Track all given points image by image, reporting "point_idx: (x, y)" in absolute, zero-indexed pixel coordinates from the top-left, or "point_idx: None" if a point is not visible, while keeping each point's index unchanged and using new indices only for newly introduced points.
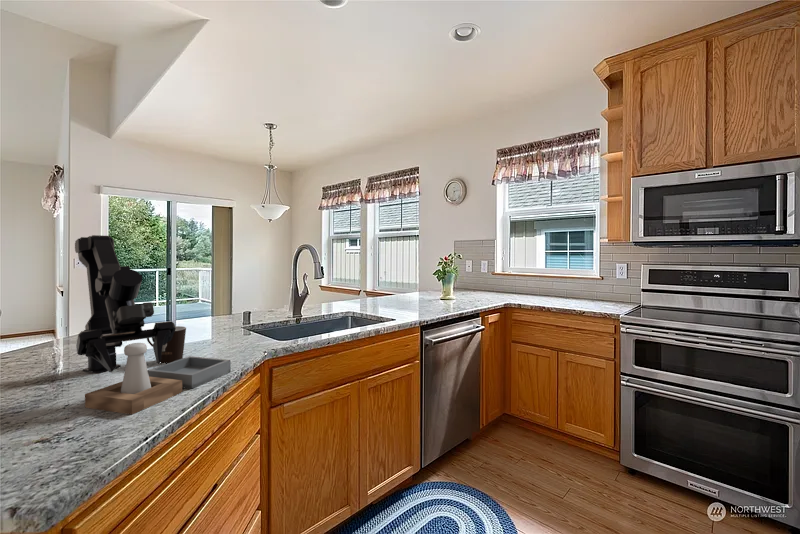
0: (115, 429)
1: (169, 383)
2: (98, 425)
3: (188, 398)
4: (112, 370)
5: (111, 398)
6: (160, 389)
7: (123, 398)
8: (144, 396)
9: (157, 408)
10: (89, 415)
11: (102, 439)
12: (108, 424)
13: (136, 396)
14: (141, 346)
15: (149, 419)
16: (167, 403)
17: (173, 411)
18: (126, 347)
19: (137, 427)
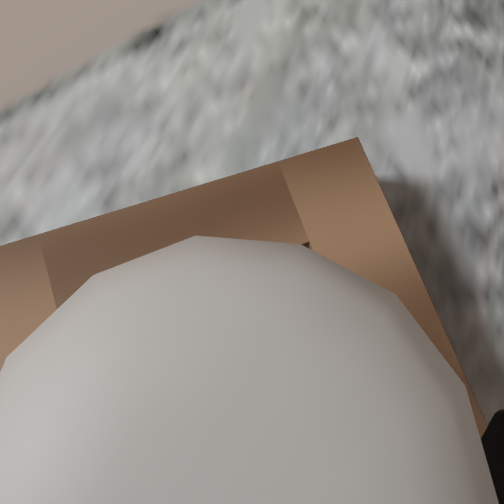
0: (441, 69)
1: (43, 266)
2: (484, 173)
3: (40, 155)
4: (496, 414)
5: (427, 300)
6: (149, 203)
7: (380, 215)
8: (272, 166)
9: (220, 153)
10: (492, 357)
11: (501, 19)
12: (449, 148)
13: (314, 182)
14: (178, 247)
15: (305, 54)
16: (151, 179)
17: (191, 53)
18: (477, 462)
19: (372, 17)
